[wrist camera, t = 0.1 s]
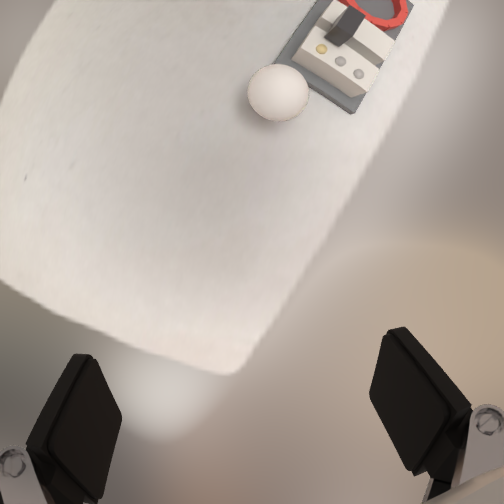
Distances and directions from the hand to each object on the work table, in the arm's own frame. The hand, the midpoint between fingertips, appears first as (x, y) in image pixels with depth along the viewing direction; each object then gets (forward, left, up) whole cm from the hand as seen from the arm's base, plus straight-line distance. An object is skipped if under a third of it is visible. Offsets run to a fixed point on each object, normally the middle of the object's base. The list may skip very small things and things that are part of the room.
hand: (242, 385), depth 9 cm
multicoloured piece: (-25, +18, -31) cm, 44 cm away
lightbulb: (-13, +6, -31) cm, 34 cm away
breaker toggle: (-21, +13, -28) cm, 37 cm away
